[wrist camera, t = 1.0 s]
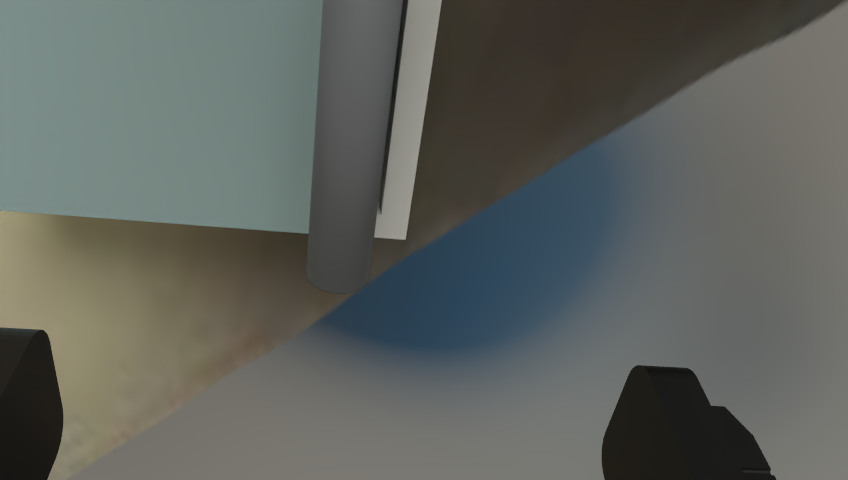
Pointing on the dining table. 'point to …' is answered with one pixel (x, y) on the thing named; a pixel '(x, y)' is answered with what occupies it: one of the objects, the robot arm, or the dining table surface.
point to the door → (203, 116)
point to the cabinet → (406, 115)
